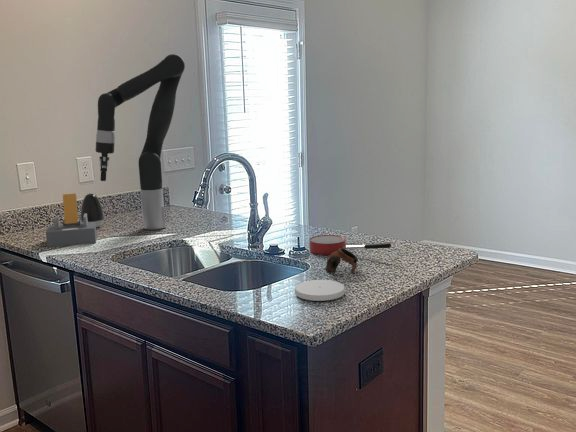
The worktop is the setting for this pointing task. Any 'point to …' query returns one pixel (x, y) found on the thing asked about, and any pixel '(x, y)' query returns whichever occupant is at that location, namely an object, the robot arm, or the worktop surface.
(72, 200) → the lever
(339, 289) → the plastic lid
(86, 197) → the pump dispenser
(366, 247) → the frying pan
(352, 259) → the brown arched piece
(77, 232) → the switch box
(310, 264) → the worktop surface
